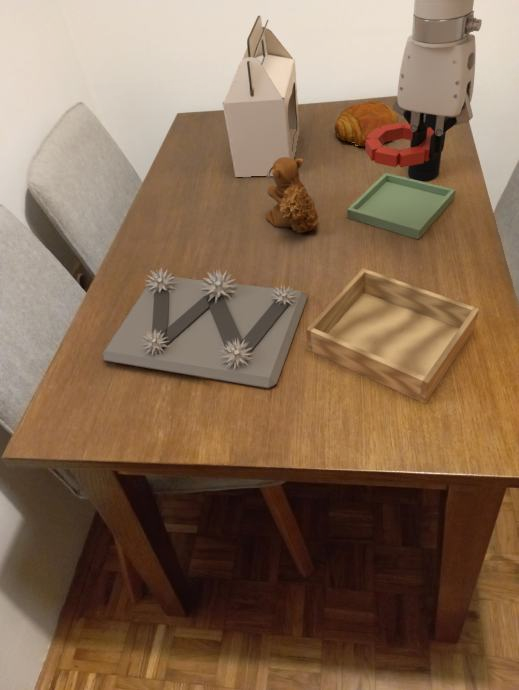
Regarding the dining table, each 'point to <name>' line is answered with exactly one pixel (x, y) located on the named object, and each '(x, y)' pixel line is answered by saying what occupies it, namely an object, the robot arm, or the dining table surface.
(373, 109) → the croissant
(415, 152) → the ring
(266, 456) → the dining table surface
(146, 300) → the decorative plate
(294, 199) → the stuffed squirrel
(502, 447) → the dining table surface
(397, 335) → the crate
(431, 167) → the wine bottle
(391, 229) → the tray
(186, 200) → the dining table surface
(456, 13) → the robot arm
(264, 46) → the gable box
